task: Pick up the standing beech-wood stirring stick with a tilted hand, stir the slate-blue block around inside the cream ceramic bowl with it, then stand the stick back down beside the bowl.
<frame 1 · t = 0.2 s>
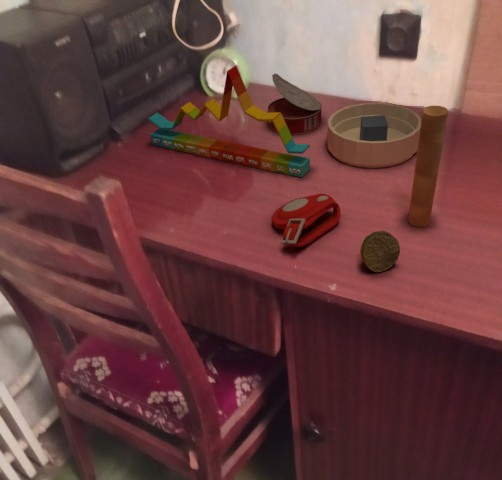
block: (372, 143, 99), point 1 cm above the table, touching bowl
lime: (376, 266, 76), on the table
chart: (226, 157, 101), on the table
canned food: (294, 123, 109), on the table
stick: (418, 221, 83), on the table
bowl: (372, 147, 100), on the table
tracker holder: (298, 230, 84), on the table
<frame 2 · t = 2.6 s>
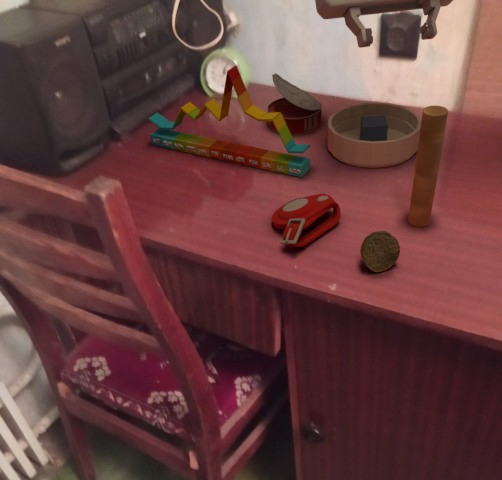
hand: (398, 41, 79), 20 cm above the table, tool tilted 40°, fingers open, 8 cm apart
nothing on the table moved.
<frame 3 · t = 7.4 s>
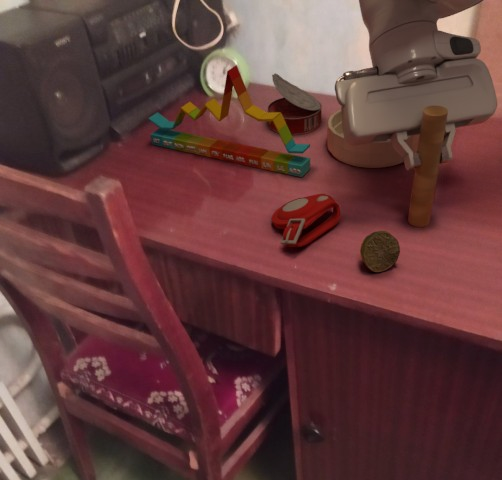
hand: (429, 165, 76), 9 cm above the table, tool tilted 45°, fingers closed on stick, 3 cm apart
stick: (418, 221, 83), on the table, touching gripper
everything else where it was.
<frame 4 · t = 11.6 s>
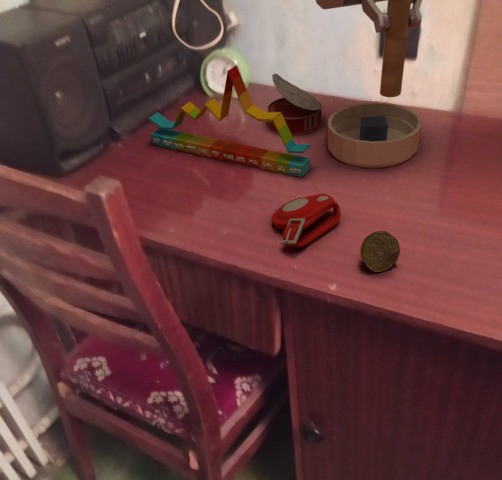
hand: (399, 27, 78), 22 cm above the table, tool tilted 45°, fingers closed on stick, 3 cm apart
stick: (390, 93, 85), point 13 cm above the table, touching gripper
everything else where it was.
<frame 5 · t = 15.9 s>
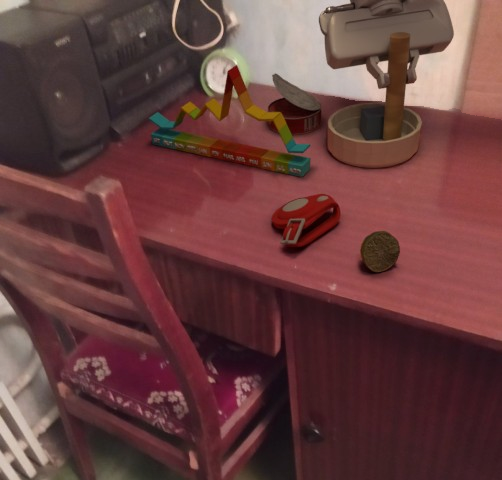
hand: (398, 84, 92), 10 cm above the table, tool tilted 45°, fingers closed on stick, 3 cm apart
block: (373, 134, 102), point 1 cm above the table, touching bowl
stick: (391, 137, 98), point 2 cm above the table, touching gripper
everything else where it was.
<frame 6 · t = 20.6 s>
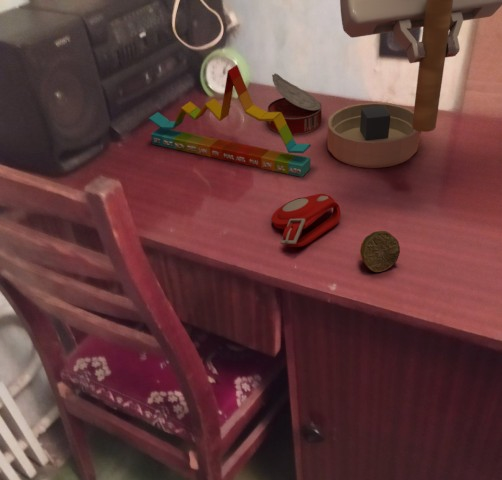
hand: (435, 57, 71), 21 cm above the table, tool tilted 45°, fingers closed on stick, 3 cm apart
stick: (423, 127, 77), point 12 cm above the table, touching gripper
everything else where it was.
when the fingers open (9 cm above the table, at t = 24.4 s): stick stays where it is, on the table.
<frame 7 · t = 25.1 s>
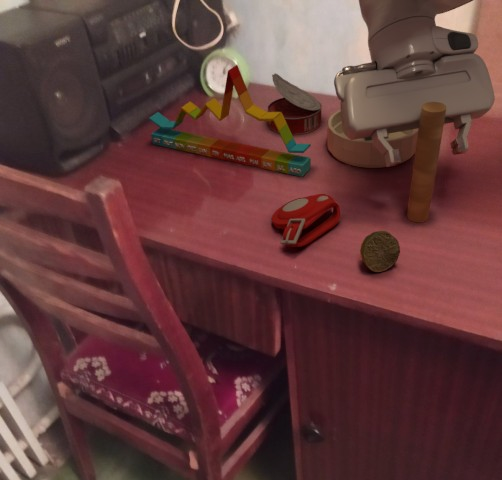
hand: (427, 158, 77), 9 cm above the table, tool tilted 45°, fingers open, 8 cm apart
stick: (417, 216, 84), on the table
everything else where it was.
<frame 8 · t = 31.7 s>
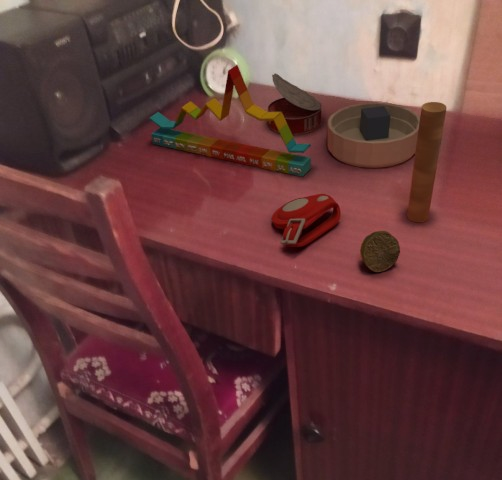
nothing on the table moved.
at the end: block moved 3.5 cm from its start; block inside the target area in the bowl (3.5 cm from its centre), point 0.6 cm above the bowl's base; stick inside the target area (0.4 cm from its centre), on the table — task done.
